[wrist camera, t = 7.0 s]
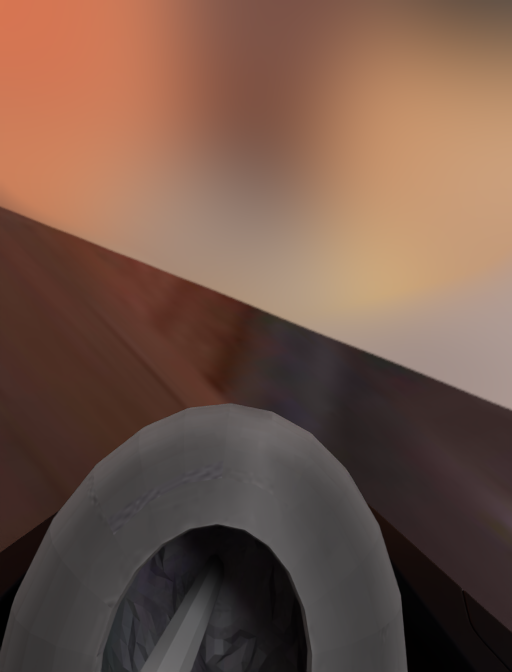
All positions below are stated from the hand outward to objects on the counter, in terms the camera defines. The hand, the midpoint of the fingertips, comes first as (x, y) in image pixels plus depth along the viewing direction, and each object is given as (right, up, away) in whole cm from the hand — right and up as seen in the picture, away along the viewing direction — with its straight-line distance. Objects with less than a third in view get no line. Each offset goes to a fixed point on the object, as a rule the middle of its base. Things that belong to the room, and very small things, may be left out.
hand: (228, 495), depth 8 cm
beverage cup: (-1, -6, +8) cm, 10 cm away
